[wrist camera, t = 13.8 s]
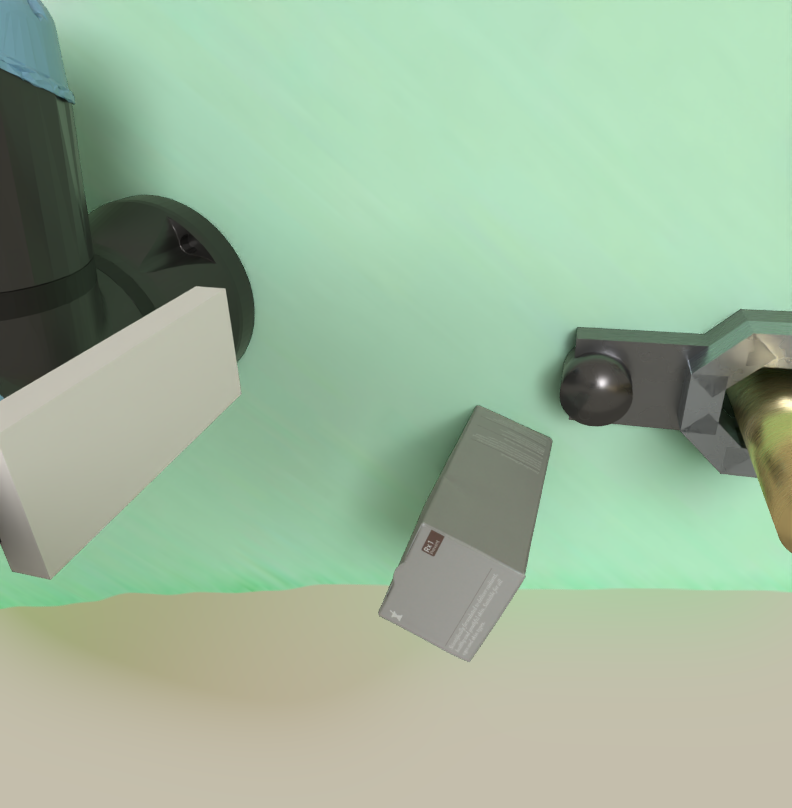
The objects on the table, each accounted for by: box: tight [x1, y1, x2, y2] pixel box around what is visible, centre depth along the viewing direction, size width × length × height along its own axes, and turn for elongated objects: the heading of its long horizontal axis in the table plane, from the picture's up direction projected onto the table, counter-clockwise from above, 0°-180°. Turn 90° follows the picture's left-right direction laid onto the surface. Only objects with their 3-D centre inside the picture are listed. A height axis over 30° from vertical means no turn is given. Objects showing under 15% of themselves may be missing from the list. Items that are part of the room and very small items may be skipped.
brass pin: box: [726, 367, 792, 553], centre depth 34 cm, size 4×4×15 cm
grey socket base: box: [560, 309, 792, 478], centre depth 38 cm, size 24×10×4 cm, turn 93°
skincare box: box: [378, 405, 552, 662], centre depth 42 cm, size 8×7×16 cm
